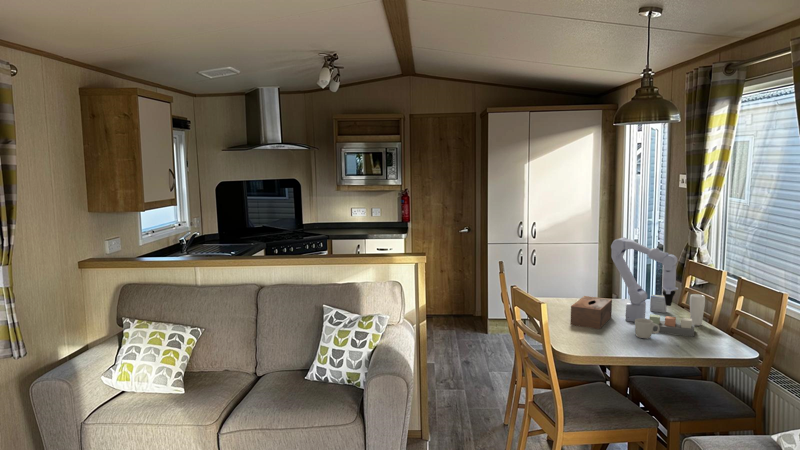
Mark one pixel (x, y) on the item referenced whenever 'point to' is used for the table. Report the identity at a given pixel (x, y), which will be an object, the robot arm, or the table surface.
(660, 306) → the medicine box
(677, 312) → the table surface
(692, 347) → the table surface
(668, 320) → the terracotta block
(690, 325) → the white block
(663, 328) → the grey tray
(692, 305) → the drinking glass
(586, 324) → the tissue box cover
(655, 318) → the sage block
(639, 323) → the cup
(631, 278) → the robot arm
